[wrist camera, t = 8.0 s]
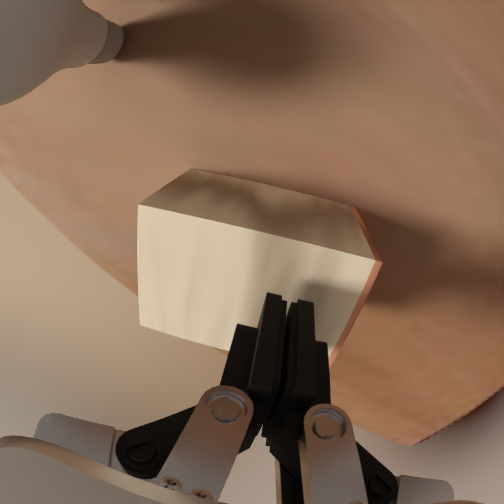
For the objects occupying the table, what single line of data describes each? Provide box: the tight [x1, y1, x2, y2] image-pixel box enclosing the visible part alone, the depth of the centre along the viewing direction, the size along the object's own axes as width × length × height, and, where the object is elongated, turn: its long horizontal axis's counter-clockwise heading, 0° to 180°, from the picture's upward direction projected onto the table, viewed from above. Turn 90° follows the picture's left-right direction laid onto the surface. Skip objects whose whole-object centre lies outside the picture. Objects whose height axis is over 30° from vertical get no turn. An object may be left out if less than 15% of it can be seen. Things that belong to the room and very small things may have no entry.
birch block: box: [137, 169, 383, 369], centre depth 14 cm, size 6×6×9 cm
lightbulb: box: [0, 0, 124, 105], centre depth 8 cm, size 6×6×11 cm
